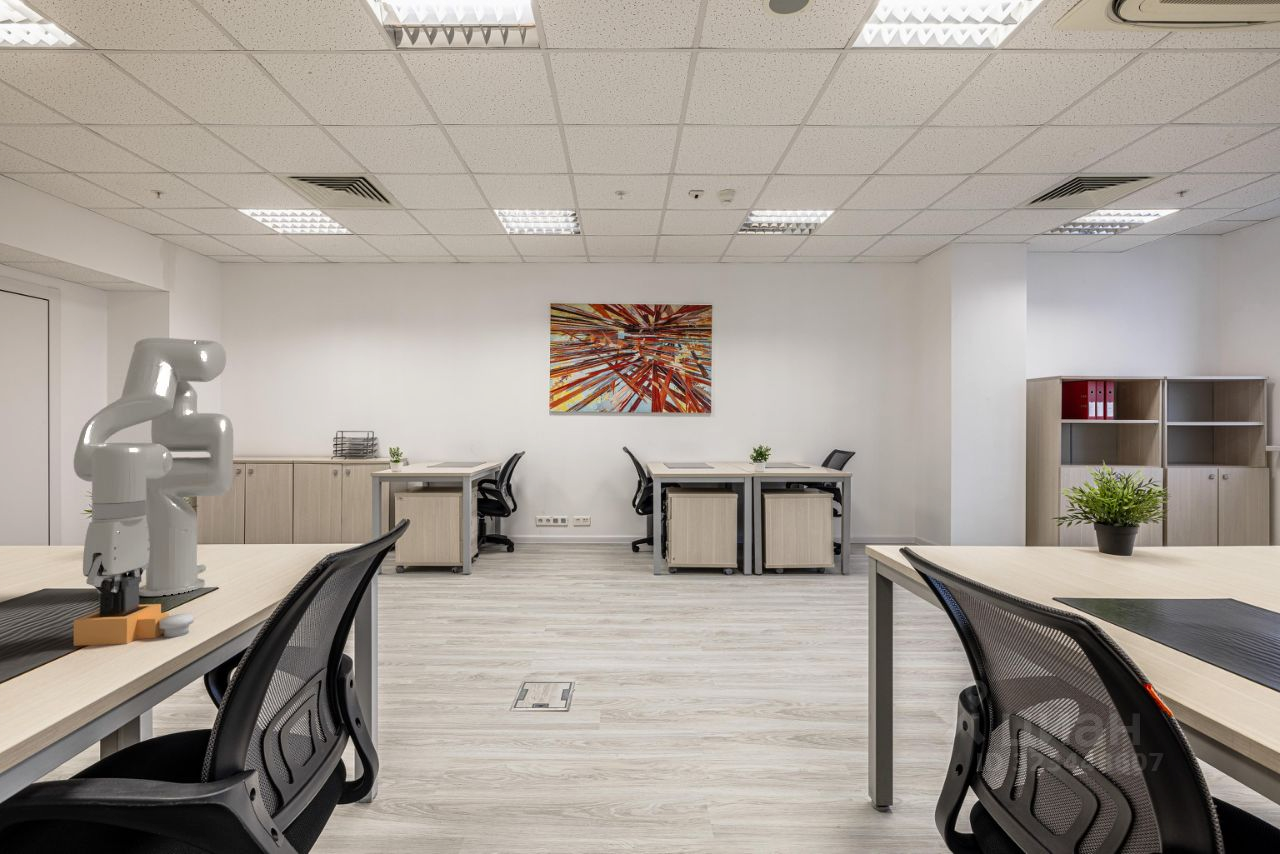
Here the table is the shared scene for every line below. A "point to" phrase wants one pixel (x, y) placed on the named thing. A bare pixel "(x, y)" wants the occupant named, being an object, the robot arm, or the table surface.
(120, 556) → the robot arm
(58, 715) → the table surface
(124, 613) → the grey rectangular block
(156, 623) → the orange handled frame
